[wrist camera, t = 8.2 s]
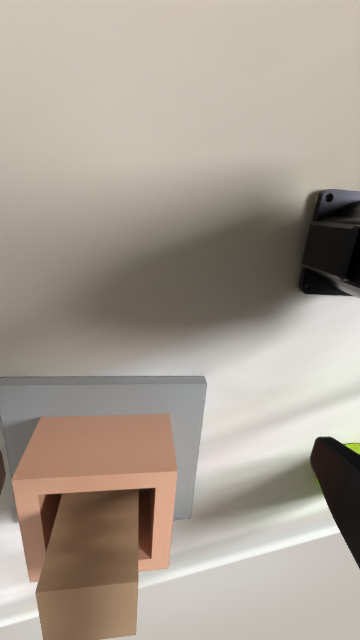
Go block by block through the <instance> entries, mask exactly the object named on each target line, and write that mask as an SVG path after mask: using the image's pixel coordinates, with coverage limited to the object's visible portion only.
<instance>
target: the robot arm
mask: <svg viewBox="0 0 360 640" xmlns="http://www.w3.org/2000/svg"><path fill="white" fill-rule="evenodd" d="M327 195H329V201H328V202H326V200H325V198H326V196H327ZM302 264H303V267H302V272H301V276H300V281H299V286H298V288H299V290H300V291H301V292H302V293H304V294H317V295H344V296H356V297H358V298H360V192H358V191H347V190H337V189H326V190H323V191H322V192H321V193H320V194H319V196H318V200H317V205H316V209H315V214H314V218H313V222H312V224H311V225H310V228H309V232H308V237H307V242H306V246H305V251H304V255H303V260H302ZM308 283H309V286H308V288H307V289H305V285H306V284H308ZM310 462H311V466H312V469H313V471H314V473H315V476H316V478H317V481H318V483H319V485H320V488H321V490H322V493H323V495H324V497H325V500H326V502H327V505H328V507H329V509H330V512H331V514H332V516H333V518H334V520H335V522H336V524H337V526H338V528H339V530H340V532H341V534H342V536H343V537H344V539H345V542H346V543H347V545H348V547H349V549H350V551H351V553H352V555H353V557H354V559H355V561H356V563H357V564H358V566H359V568H360V454H358V453H356V452H355V451H353V450H352V449H350V448H348V447H347V446H345V445H343V444H342V443H340V442H339V441H337V440H335V439H334V438H332V437H318V438H317V439H316V440H315V443H314V446H313V449H312V453H311V456H310ZM4 481H5V468H4V462H3V457H2V453H1V451H0V494H1V491H2V488H3V484H4Z"/></svg>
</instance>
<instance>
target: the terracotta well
mask: <svg viewBox="0 0 360 640" xmlns="http://www.w3.org/2000/svg"><path fill="white" fill-rule="evenodd" d="M206 388H207V382H206V379H205V377H204V376H141V377H2V378H1V379H0V416H1V421H2V427H3V432H4V438H5V443H6V449H7V455H8V460H9V466H10V471H11V477H12V480H11V481H12V486H13V492H14V497H15V503H16V508H17V514H18V519H19V525H20V530H21V536H22V541H23V547H24V552H25V558H26V563H27V569H28V575H29V580H30V582H38V581H39V578H40V574H41V570H42V567H43V563H44V559H45V555H46V552H47V548H48V544H49V541H50V537H51V533H52V529H53V526H54V522H55V518H56V515H57V511H58V507H59V503H60V500H61V496H62V493H75V492H91V491H108V490H124V489H139V514H138V571H148V570H158V569H168V568H169V557H170V547H171V536H172V525H173V520H181V519H190V517H191V509H192V501H193V493H194V485H195V477H196V469H197V461H198V453H199V445H200V437H201V429H202V421H203V413H204V404H205V396H206Z"/></svg>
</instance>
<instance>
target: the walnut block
mask: <svg viewBox="0 0 360 640" xmlns="http://www.w3.org/2000/svg"><path fill="white" fill-rule="evenodd" d="M138 514H139V489H124V490H108V491H91V492H75V493H62V496H61V500H60V503H59V507H58V511H57V515H56V518H55V522H54V526H53V529H52V533H51V537H50V541H49V544H48V548H47V552H46V555H45V559H44V563H43V567H42V570H41V574H40V578H39V581H38V585H37V589H36V598H37V604H38V610H39V617H40V623H41V628H42V635H43V640H100V639H107V638H116V637H122V636H131V635H136V621H137V599H138Z"/></svg>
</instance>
